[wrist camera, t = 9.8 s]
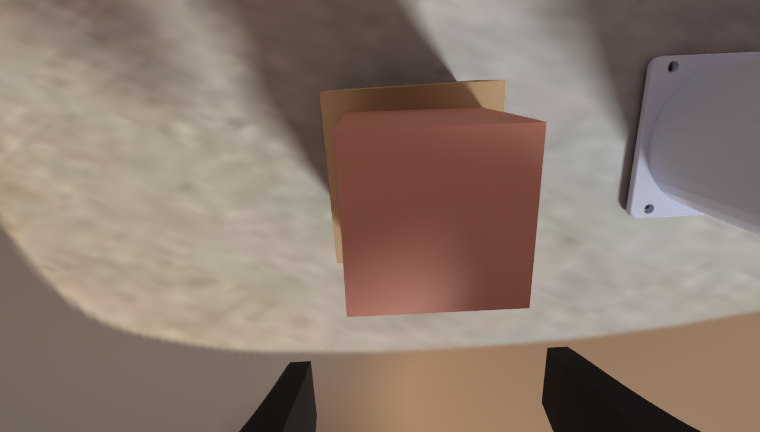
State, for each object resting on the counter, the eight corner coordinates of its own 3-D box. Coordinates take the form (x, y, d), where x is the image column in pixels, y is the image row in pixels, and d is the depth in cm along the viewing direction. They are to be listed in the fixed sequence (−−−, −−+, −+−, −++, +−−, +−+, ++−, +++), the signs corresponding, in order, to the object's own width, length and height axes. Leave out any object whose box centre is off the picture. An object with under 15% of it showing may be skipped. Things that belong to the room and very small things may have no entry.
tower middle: (477, 80, 17) (505, 79, 13) (475, 220, 18) (499, 251, 15) (328, 90, 16) (319, 92, 13) (342, 230, 18) (337, 263, 15)
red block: (482, 107, 13) (546, 121, 9) (476, 235, 15) (529, 307, 10) (344, 112, 13) (334, 129, 9) (352, 240, 15) (346, 317, 10)
